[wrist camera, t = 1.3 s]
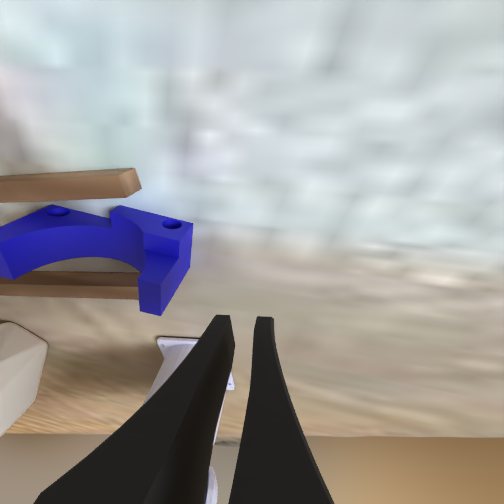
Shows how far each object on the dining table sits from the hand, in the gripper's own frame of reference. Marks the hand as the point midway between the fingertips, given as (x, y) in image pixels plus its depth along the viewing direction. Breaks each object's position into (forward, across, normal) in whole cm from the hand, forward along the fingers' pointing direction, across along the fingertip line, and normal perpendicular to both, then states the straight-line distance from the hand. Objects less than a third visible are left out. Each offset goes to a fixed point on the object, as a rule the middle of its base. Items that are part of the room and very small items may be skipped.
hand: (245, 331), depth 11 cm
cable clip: (+10, +12, -1) cm, 16 cm away
